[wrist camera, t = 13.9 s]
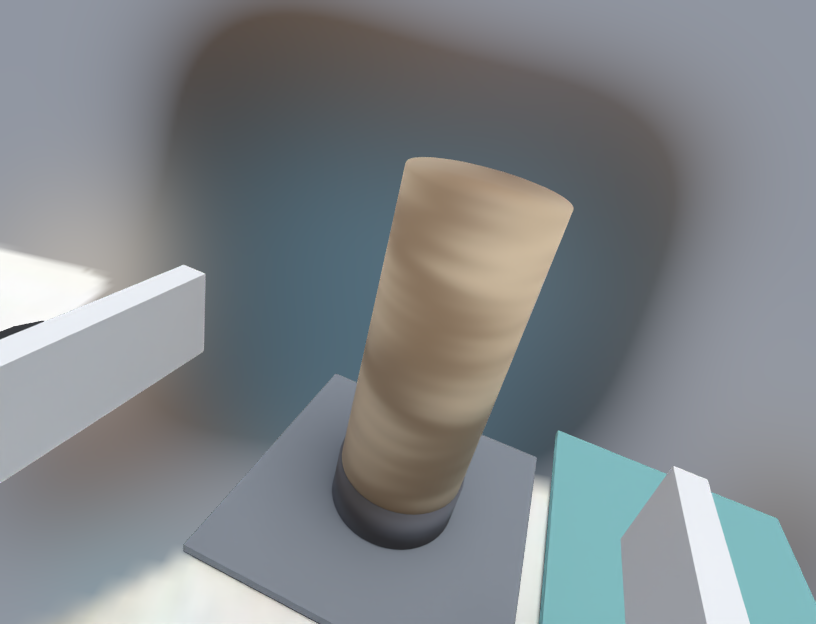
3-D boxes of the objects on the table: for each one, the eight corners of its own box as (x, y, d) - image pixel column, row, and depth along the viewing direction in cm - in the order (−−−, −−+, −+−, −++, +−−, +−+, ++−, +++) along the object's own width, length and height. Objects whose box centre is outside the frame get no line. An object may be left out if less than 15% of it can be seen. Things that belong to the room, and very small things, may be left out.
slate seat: (534, 462, 25) (536, 457, 25) (499, 719, 15) (502, 713, 15) (334, 379, 27) (335, 373, 27) (183, 551, 17) (183, 544, 17)
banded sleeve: (463, 475, 23) (578, 193, 16) (432, 573, 18) (575, 232, 11) (363, 431, 24) (431, 150, 17) (308, 512, 19) (374, 168, 12)
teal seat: (773, 523, 25) (777, 518, 25) (902, 818, 15) (911, 814, 15) (555, 435, 27) (558, 430, 27) (538, 639, 17) (541, 633, 17)
